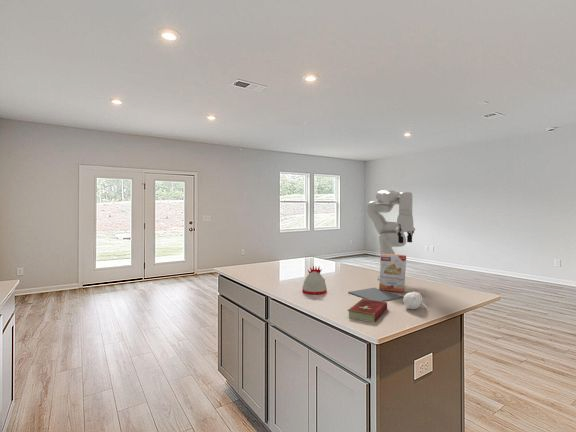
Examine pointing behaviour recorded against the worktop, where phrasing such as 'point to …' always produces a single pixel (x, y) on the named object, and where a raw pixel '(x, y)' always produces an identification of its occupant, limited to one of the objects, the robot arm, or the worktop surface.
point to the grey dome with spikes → (314, 283)
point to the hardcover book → (367, 310)
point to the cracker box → (392, 272)
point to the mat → (375, 294)
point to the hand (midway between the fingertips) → (405, 242)
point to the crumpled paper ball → (413, 300)
